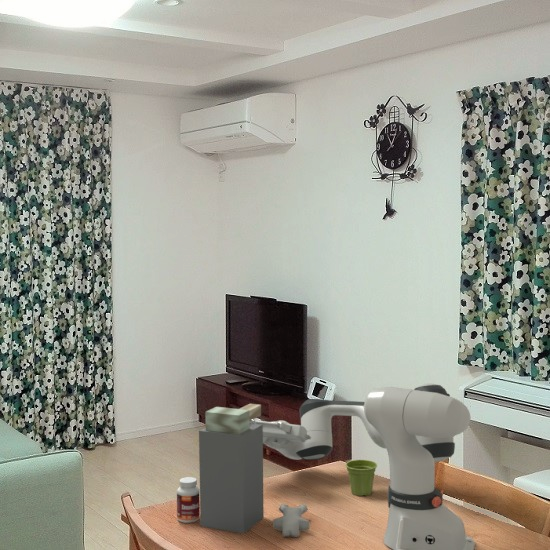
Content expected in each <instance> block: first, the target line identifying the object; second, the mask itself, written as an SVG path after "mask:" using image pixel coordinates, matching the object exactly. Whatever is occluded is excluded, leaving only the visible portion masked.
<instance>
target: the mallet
mask: <svg viewBox="0 0 550 550" xmlns="http://www.w3.org/2000/svg"><path fill="white" fill-rule="evenodd" d="M261 415H262V404H256V403H249V404H246V405H244V406H242V407H240V408H231V407H223V406H222V407H221V406H215V407H213V408H210V409H208V410H206V411H205V416H204V417H205V427H206V430H207V431H215V432H224V433H232V434H241V433H243V432H244V431H246V430H248V429H250V425H249V421H251V420H253V419H254V420H255V419H257V418H258V417H261Z"/></svg>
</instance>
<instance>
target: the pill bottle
mask: <svg viewBox="0 0 550 550" xmlns="http://www.w3.org/2000/svg"><path fill="white" fill-rule="evenodd" d="M197 480H198V479H197V478H196V477H192V476H186V477H182V478H180V479H179V487H178V488H177V490H176V519H177V521H179V522H181V523H184V524H190V523H194V522H197V521H198V520H199V519H200V487H198V485H197V484H198V483H197V482H198V481H197Z"/></svg>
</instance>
